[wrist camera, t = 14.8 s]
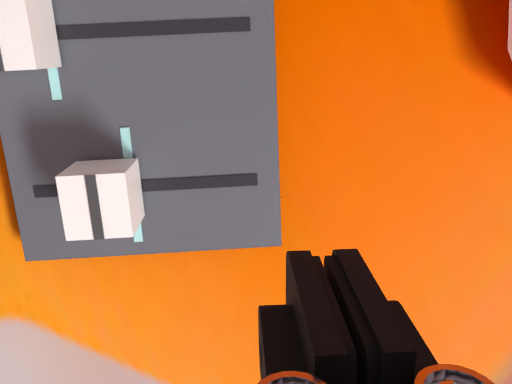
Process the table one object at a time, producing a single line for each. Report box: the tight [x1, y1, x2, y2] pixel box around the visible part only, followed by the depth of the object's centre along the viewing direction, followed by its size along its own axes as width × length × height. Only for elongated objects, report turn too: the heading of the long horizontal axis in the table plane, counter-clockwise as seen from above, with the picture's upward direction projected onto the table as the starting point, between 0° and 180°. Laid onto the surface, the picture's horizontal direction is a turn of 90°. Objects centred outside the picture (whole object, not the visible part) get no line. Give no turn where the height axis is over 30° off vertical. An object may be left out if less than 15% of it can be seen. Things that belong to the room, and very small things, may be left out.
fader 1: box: [0, 0, 62, 71], centre depth 27 cm, size 4×4×4 cm
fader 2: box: [55, 158, 145, 241], centre depth 30 cm, size 4×4×4 cm
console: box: [0, 0, 282, 261], centre depth 32 cm, size 20×18×2 cm
